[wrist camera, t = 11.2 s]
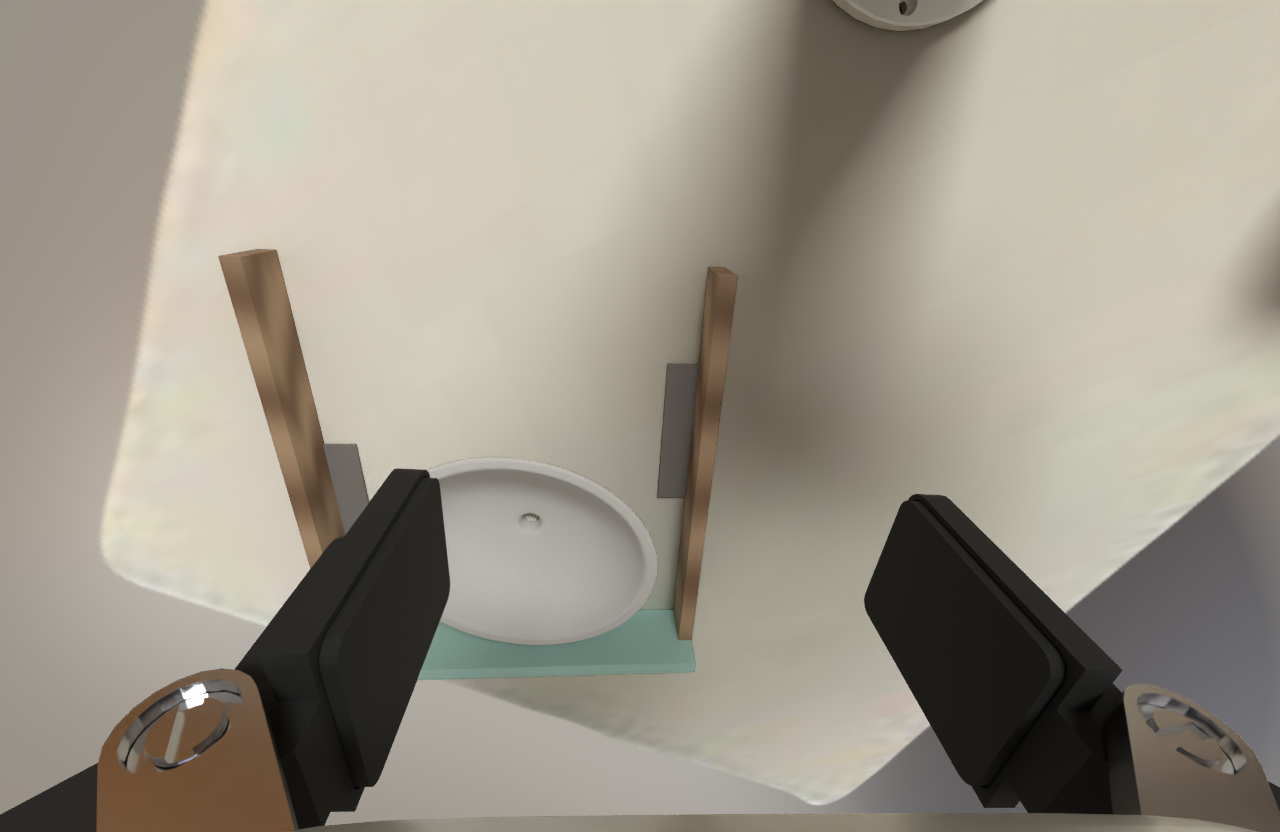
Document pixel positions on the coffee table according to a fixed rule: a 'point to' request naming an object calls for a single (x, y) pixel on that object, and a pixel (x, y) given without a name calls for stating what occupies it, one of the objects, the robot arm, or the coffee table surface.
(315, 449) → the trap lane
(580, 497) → the dish
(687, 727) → the coffee table surface
